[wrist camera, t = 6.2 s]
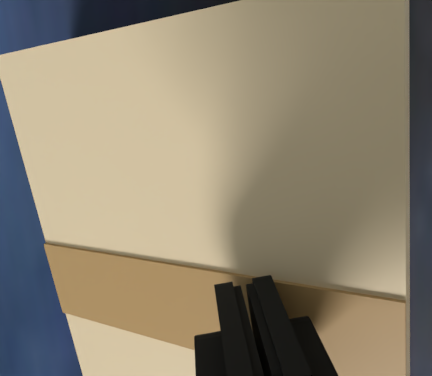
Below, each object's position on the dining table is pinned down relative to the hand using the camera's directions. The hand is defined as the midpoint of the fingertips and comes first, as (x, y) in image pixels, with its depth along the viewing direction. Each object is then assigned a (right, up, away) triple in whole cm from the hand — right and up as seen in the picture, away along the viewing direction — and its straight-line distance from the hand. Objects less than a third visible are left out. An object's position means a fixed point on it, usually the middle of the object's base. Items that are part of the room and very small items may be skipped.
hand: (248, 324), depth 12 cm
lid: (-2, 0, +3) cm, 3 cm away
